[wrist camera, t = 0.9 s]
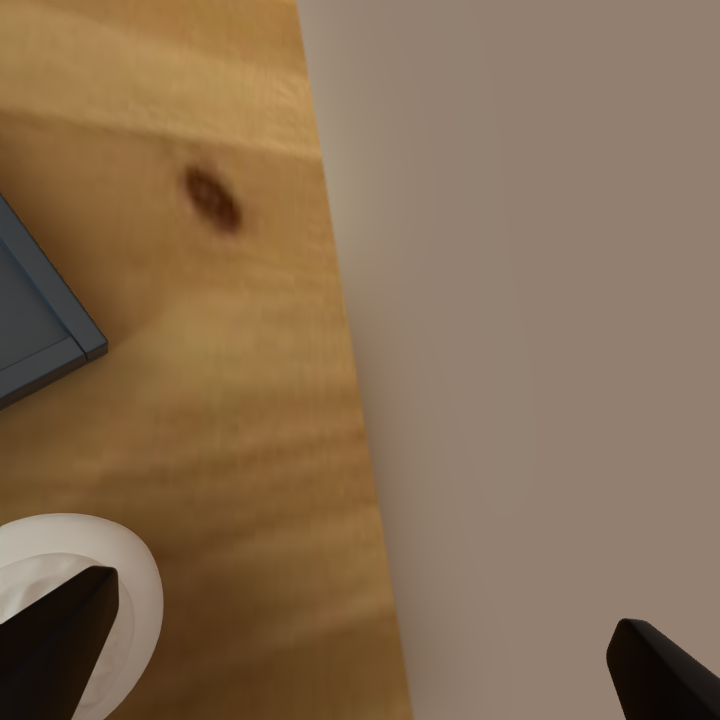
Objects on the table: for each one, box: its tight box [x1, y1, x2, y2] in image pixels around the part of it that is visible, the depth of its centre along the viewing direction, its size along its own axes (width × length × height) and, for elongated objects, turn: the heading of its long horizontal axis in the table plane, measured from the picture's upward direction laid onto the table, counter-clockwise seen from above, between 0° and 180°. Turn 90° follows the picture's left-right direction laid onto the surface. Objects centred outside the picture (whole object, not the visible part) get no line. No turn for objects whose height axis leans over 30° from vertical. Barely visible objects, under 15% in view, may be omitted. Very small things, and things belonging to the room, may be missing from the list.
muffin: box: [0, 513, 164, 720], centre depth 12 cm, size 6×6×7 cm
